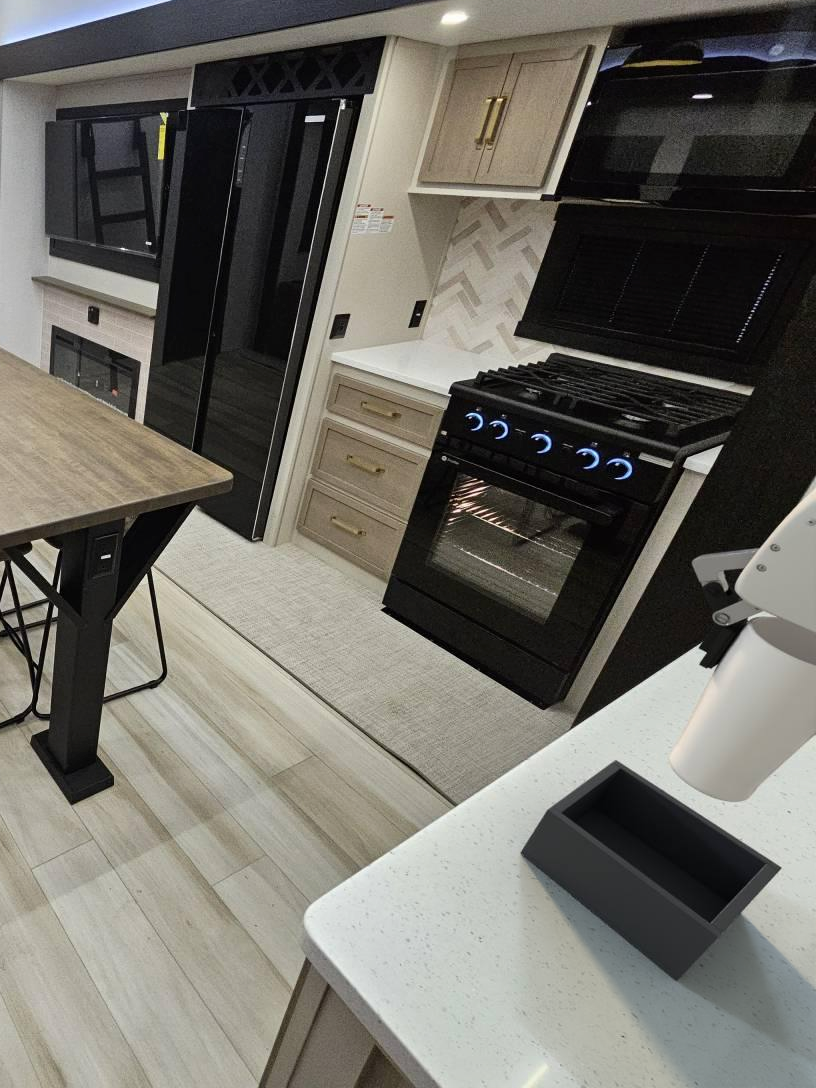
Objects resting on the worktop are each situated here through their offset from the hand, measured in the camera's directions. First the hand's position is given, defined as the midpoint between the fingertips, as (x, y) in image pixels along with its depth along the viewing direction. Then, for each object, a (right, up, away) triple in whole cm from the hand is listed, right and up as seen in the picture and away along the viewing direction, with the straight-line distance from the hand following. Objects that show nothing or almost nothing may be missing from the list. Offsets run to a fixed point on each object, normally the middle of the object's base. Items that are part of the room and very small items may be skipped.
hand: (771, 691), depth 53 cm
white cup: (0, -9, +5) cm, 10 cm away
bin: (-2, -21, +11) cm, 24 cm away
